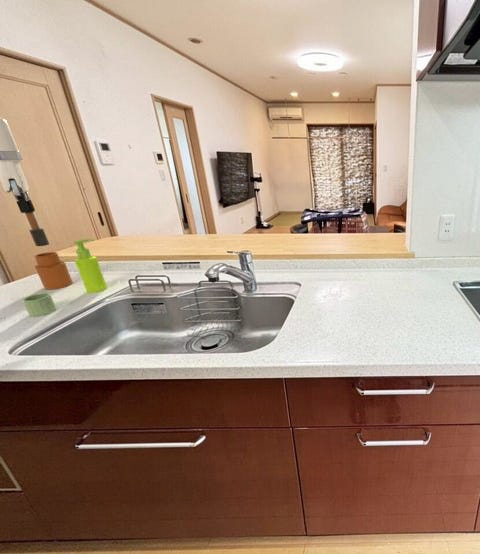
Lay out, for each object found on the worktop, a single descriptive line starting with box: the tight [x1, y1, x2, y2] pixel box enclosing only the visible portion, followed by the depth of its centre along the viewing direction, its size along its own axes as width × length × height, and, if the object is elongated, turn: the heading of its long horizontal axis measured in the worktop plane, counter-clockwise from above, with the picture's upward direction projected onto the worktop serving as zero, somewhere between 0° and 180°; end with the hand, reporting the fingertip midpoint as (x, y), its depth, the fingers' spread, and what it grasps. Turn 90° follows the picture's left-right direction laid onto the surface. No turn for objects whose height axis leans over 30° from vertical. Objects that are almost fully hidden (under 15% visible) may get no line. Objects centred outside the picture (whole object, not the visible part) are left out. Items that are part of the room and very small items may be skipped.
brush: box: [24, 212, 50, 247], centre depth 108 cm, size 4×4×18 cm
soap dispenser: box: [73, 238, 108, 294], centre depth 110 cm, size 6×7×20 cm
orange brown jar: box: [34, 251, 74, 291], centre depth 115 cm, size 8×8×13 cm
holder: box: [21, 292, 58, 318], centre depth 96 cm, size 6×6×6 cm
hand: (28, 211), depth 107 cm, fingers closed on brush, 2 cm apart
